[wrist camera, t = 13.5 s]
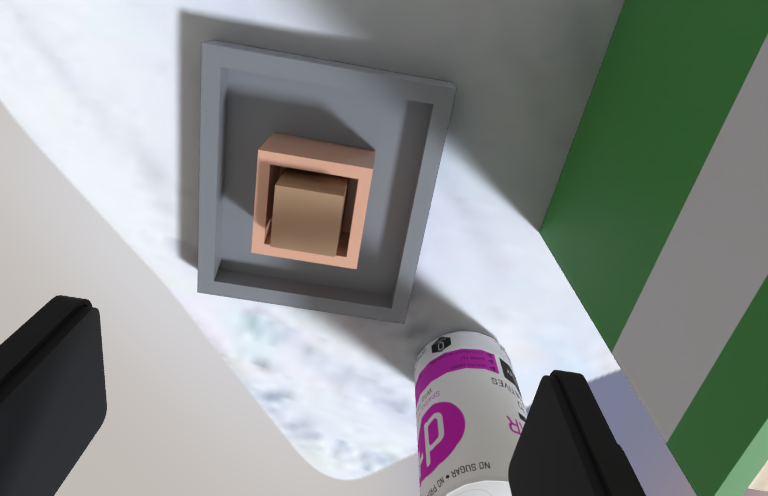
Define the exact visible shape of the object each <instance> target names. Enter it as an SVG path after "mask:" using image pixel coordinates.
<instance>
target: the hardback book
mask: <svg viewBox="0 0 768 496" xmlns="http://www.w3.org/2000/svg"><path fill="white" fill-rule="evenodd" d="M539 233H540V235H541V236H542V238H543V240H544V241H545V243H546V245H547V246H548V248H549V250H550V251H551V253H552V255H553V256H554V258H555V260H556V261H557V263H558V265H559V266H560V268H561V270H562V271H563V273H564V275H565V276H566V278H567V280H568V281H569V283H570V285H571V286H572V288H573V290H574V291H575V293H576V295H577V296H578V298H579V300H580V301H581V303H582V305H583V306H584V308H585V310H586V311H587V313H588V315H589V316H590V318H591V320H592V321H593V323H594V325H595V326H596V328H597V330H598V331H599V333H600V335H601V336H602V338H603V340H604V341H605V343H606V345H607V346H608V348H609V350H610V351H611V353H612V355H613V356H614V358H615V360H616V361H617V363H618V365H619V366H620V368H621V370H622V371H623V373H624V374H625V376H626V378H627V380H628V381H629V383H630V385H631V386H632V388H633V390H634V391H635V393H636V395H637V397H638V398H639V400H640V402H641V403H642V405H643V406H644V408H645V410H646V412H647V413H648V415H649V417H650V418H651V420H652V421H653V423H654V425H655V426H656V428H657V430H658V432H659V433H660V435H661V436H662V438H663V440H664V441H665V443H666V445H667V447H668V448H669V450H670V451H671V453H672V455H673V456H674V458H675V460H676V462H677V463H678V465H679V467H680V468H681V470H682V472H683V473H684V475H685V476H686V478H687V480H688V482H689V483H690V485H691V487H692V488H693V490H694V492H695V493H696V495H697V496H742V495H743V493H744V492H745V491H746V489H747V488H751V489H757V490H762V491H768V0H625V2H624V5H623V8H622V11H621V13H620V16H619V19H618V21H617V24H616V27H615V29H614V32H613V35H612V38H611V40H610V43H609V46H608V48H607V51H606V54H605V56H604V59H603V62H602V65H601V67H600V70H599V73H598V75H597V78H596V81H595V84H594V86H593V89H592V92H591V94H590V97H589V100H588V102H587V105H586V108H585V111H584V113H583V116H582V119H581V121H580V124H579V127H578V129H577V132H576V135H575V138H574V140H573V143H572V146H571V148H570V151H569V154H568V156H567V159H566V162H565V165H564V167H563V170H562V173H561V175H560V178H559V181H558V183H557V186H556V189H555V192H554V194H553V197H552V200H551V202H550V205H549V208H548V210H547V213H546V216H545V219H544V221H543V224H542V227H541V229H540V232H539Z"/></svg>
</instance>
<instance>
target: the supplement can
mask: <svg viewBox="0 0 768 496" xmlns="http://www.w3.org/2000/svg"><path fill="white" fill-rule="evenodd" d="M414 377H415V398H416V418H417V439H418V458H419V480H420V496H512V494H511V490H510V486H509V480H508V469H509V464H510V461H511V458H512V456H513V453H514V450H515V448H516V445H517V442H518V440H519V437H520V434H521V432H522V429H523V426H524V424H525V421H526V419H527V413H526V410H525V406H524V403H523V400H522V397H521V393H520V390H519V387H518V384H517V381H516V377H515V374H514V371H513V368H512V365H511V361H510V359H509V357H508V355H507V353H506V351H505V349H504V347H503V346H501V345H500V344H499V343H498V342H497V341H495V340H494V339H493V338H492V337H489V336H486V335H483V334H481V333H478V332H467V331H457V332H453V333H449V334H445V335H442V336H440V337H438V338H437V339H435V340H433V341H432V342H430V343H428V344H427V345H426V347H425V348H424V349H423V350H422V351H421V353H420V354H419V355H418V358H417V361H416V364H415V367H414Z"/></svg>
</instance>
